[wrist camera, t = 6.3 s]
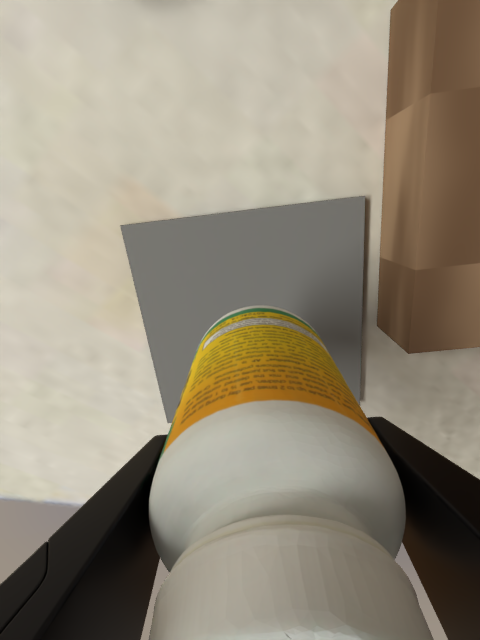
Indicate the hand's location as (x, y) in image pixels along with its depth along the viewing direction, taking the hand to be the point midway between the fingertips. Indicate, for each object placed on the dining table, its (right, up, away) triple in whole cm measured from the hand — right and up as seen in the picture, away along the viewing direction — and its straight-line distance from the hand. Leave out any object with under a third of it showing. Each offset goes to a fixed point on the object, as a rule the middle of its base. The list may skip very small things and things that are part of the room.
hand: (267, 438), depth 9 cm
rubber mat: (0, +3, +9) cm, 9 cm away
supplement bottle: (0, +2, +4) cm, 5 cm away
